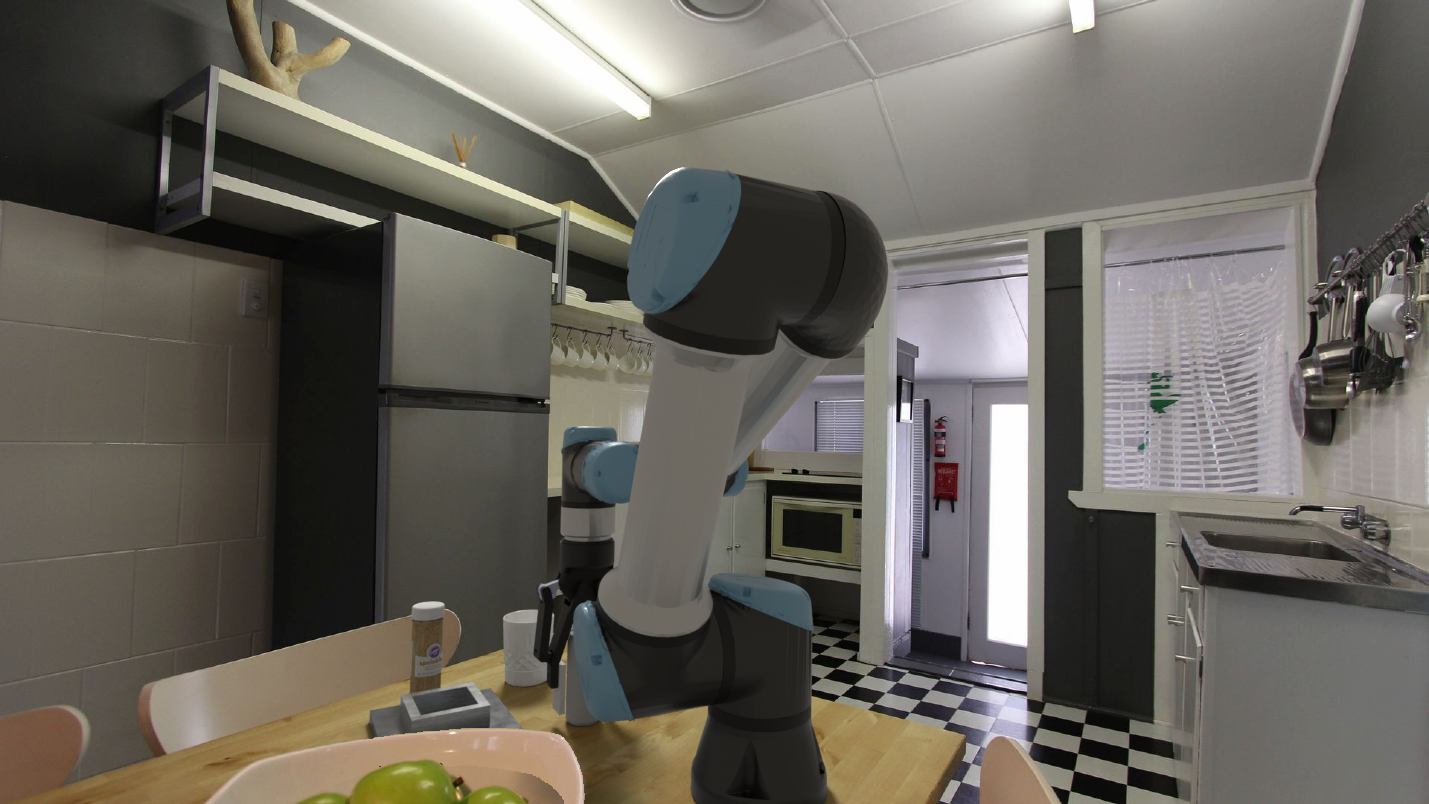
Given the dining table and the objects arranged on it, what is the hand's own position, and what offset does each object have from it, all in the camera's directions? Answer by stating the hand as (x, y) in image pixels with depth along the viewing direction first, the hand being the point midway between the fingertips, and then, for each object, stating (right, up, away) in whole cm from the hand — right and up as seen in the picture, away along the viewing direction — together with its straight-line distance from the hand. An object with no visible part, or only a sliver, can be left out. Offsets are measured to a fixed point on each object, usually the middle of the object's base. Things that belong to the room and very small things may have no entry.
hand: (583, 705), depth 92 cm
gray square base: (-18, -1, -4) cm, 18 cm away
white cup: (-12, -3, +15) cm, 19 cm away
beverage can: (0, -2, 0) cm, 2 cm away
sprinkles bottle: (-25, -2, +8) cm, 26 cm away
